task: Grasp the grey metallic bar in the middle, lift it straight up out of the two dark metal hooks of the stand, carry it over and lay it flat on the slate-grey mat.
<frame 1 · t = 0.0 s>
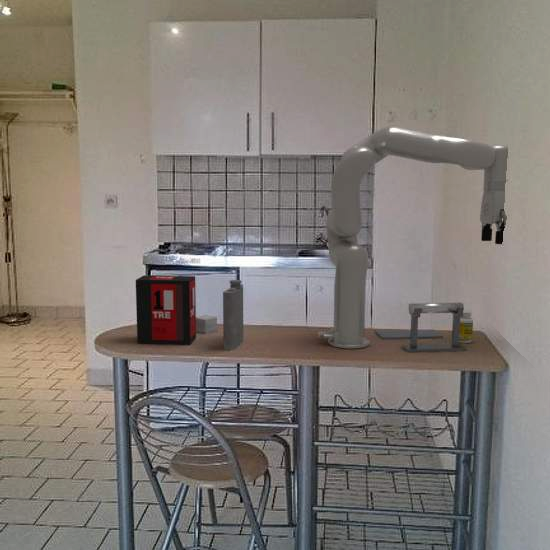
hand: (493, 242, 199), 31 cm above the table, fingers open, 9 cm apart
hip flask: (235, 344, 198), on the table
cleaning product box: (167, 341, 201), on the table
hook stand: (434, 348, 193), on the table
supplement bottle: (463, 341, 203), on the table
grey metallic bar: (436, 308, 192), point 12 cm above the table, touching hook stand
small box: (205, 331, 215), on the table
slate mat: (408, 335, 210), on the table
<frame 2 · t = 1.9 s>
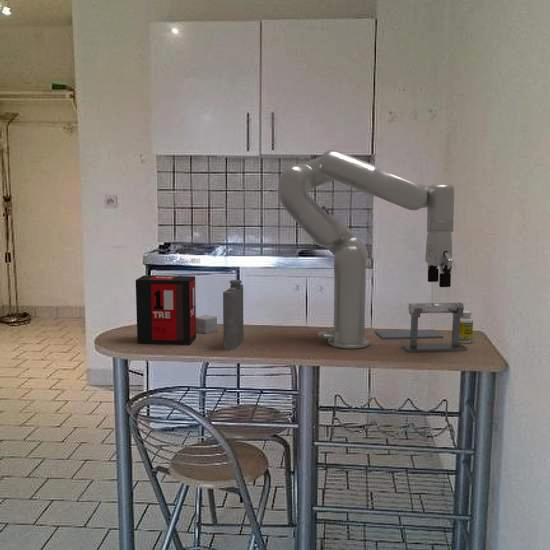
hand: (438, 284, 190), 20 cm above the table, fingers open, 9 cm apart
nothing on the table moved.
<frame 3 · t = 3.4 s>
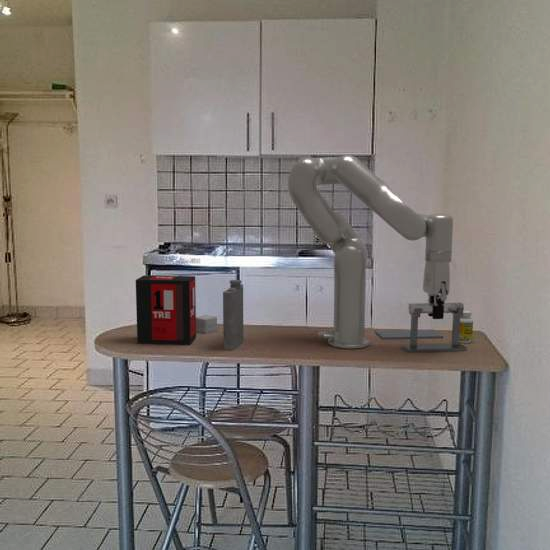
hand: (435, 316, 192), 10 cm above the table, fingers closed on grey metallic bar, 3 cm apart
grey metallic bar: (436, 308, 192), point 12 cm above the table, touching gripper, hook stand
everything else where it was.
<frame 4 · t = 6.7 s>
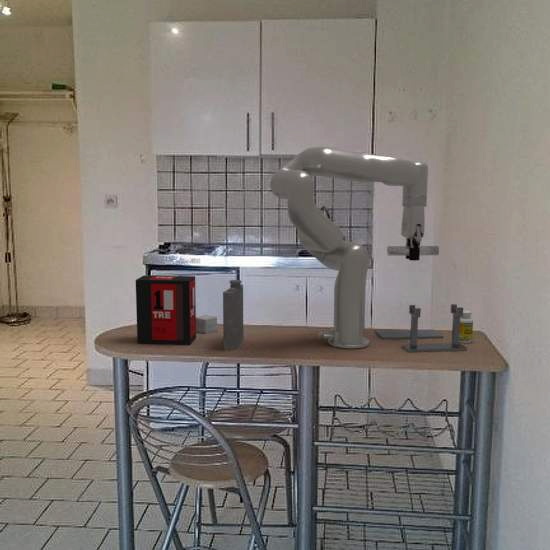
hand: (412, 259, 205), 25 cm above the table, fingers closed on grey metallic bar, 3 cm apart
grey metallic bar: (413, 250, 205), point 28 cm above the table, touching gripper
everything else where it was.
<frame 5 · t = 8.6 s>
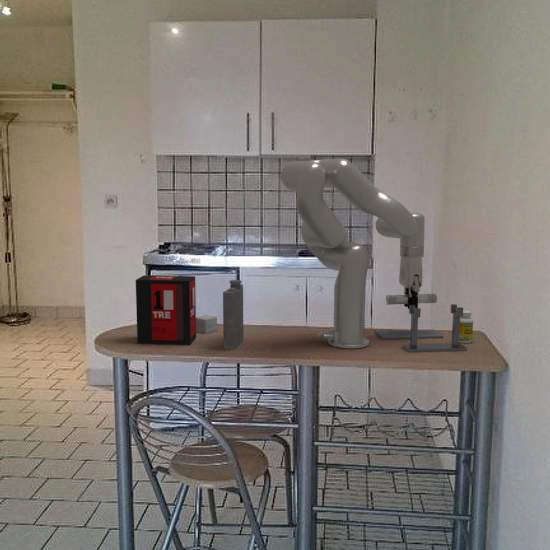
hand: (410, 307, 209), 9 cm above the table, fingers closed on grey metallic bar, 3 cm apart
grey metallic bar: (411, 299, 208), point 12 cm above the table, touching gripper
everything else where it was.
when the fingers open (2 cm above the table, at t = 10.1 s): grey metallic bar drops 2 cm, resting on slate mat.
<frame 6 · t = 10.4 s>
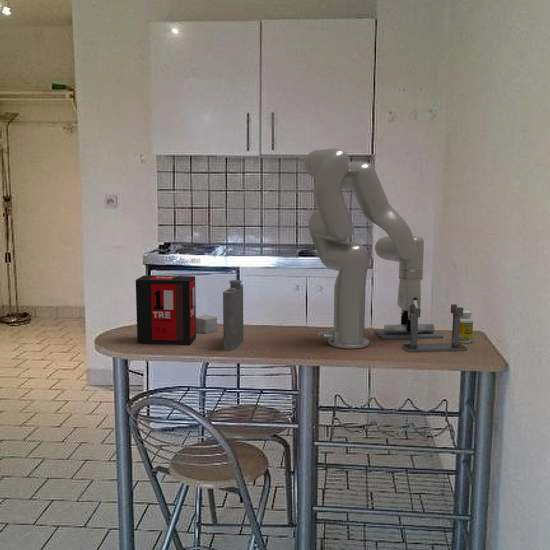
hand: (408, 328, 210), 2 cm above the table, fingers open, 5 cm apart
grey metallic bar: (408, 329, 209), point 2 cm above the table, touching slate mat
everything else where it was.
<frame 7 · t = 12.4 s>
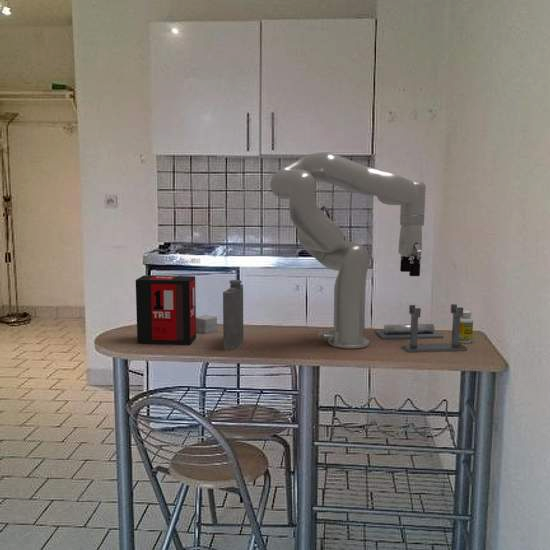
hand: (409, 273, 207), 20 cm above the table, fingers open, 9 cm apart
nothing on the table moved.
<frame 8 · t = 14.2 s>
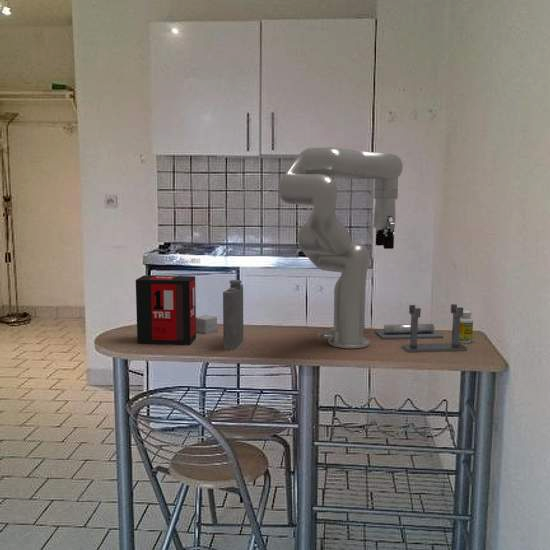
hand: (384, 246, 212), 28 cm above the table, fingers open, 9 cm apart
nothing on the table moved.
at the end: grey metallic bar inside the target area (0.0 cm from its centre), point 2.1 cm above the table; grey metallic bar touching slate mat; the gripper is holding nothing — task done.
